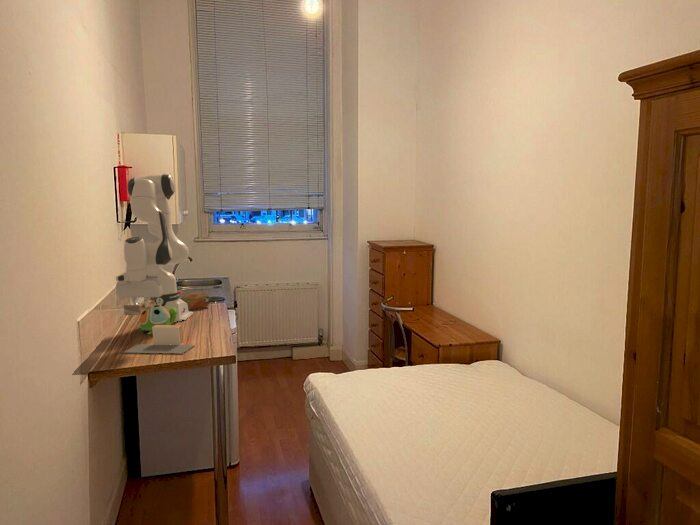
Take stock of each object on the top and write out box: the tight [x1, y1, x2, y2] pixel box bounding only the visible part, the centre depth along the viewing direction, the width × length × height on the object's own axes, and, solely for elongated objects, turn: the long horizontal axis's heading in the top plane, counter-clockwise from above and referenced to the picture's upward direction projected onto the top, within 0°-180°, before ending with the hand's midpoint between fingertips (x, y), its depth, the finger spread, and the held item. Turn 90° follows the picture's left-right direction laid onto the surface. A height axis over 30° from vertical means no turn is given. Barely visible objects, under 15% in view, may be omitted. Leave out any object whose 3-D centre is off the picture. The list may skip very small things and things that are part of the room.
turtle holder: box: [138, 304, 178, 335], centre depth 244 cm, size 12×18×12 cm
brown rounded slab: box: [181, 292, 211, 310], centre depth 286 cm, size 15×3×8 cm, turn 101°
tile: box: [152, 324, 185, 345], centre depth 220 cm, size 3×12×8 cm, turn 79°
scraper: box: [123, 299, 155, 316], centre depth 227 cm, size 15×7×4 cm, turn 168°
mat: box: [122, 344, 195, 355], centre depth 214 cm, size 10×26×1 cm, turn 79°
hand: (141, 307), depth 226 cm, fingers closed on scraper, 2 cm apart
